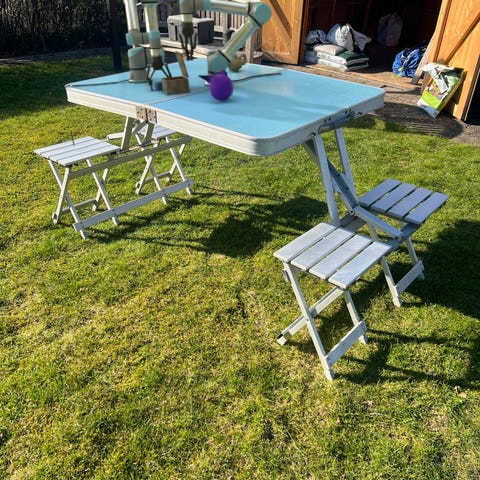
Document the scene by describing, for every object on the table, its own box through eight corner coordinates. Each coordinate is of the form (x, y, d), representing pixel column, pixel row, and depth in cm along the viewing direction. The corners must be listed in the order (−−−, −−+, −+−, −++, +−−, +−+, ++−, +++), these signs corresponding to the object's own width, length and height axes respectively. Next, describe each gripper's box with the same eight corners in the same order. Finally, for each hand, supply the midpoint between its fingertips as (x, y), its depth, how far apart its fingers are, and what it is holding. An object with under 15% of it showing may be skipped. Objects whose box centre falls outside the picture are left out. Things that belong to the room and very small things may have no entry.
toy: (220, 92, 299) (233, 106, 278) (195, 88, 292) (206, 102, 271) (226, 68, 291) (240, 80, 270) (200, 63, 284) (212, 75, 263)
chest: (167, 94, 298) (166, 80, 293) (162, 91, 307) (161, 78, 302) (189, 92, 303) (188, 78, 299) (184, 89, 312) (183, 75, 307)
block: (158, 90, 310) (157, 83, 307) (155, 89, 313) (154, 82, 310) (164, 89, 312) (164, 82, 310) (161, 88, 315) (160, 81, 313)
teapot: (227, 73, 359) (226, 53, 351) (220, 71, 367) (219, 51, 360) (250, 70, 368) (249, 51, 360) (242, 68, 376) (242, 49, 369)
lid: (180, 53, 289) (192, 49, 291) (174, 51, 298) (186, 47, 300) (187, 78, 298) (199, 73, 300) (182, 75, 307) (193, 71, 309)
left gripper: (140, 57, 294) (144, 92, 305) (174, 54, 302) (177, 88, 314) (137, 56, 300) (142, 90, 311) (171, 53, 308) (174, 86, 319)
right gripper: (177, 22, 282) (181, 62, 294) (199, 21, 287) (202, 60, 299) (174, 21, 288) (177, 60, 300) (195, 20, 293) (198, 59, 305)
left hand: (160, 89), depth 312 cm, fingers open, 11 cm apart
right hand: (189, 60), depth 299 cm, fingers closed on lid, 2 cm apart
